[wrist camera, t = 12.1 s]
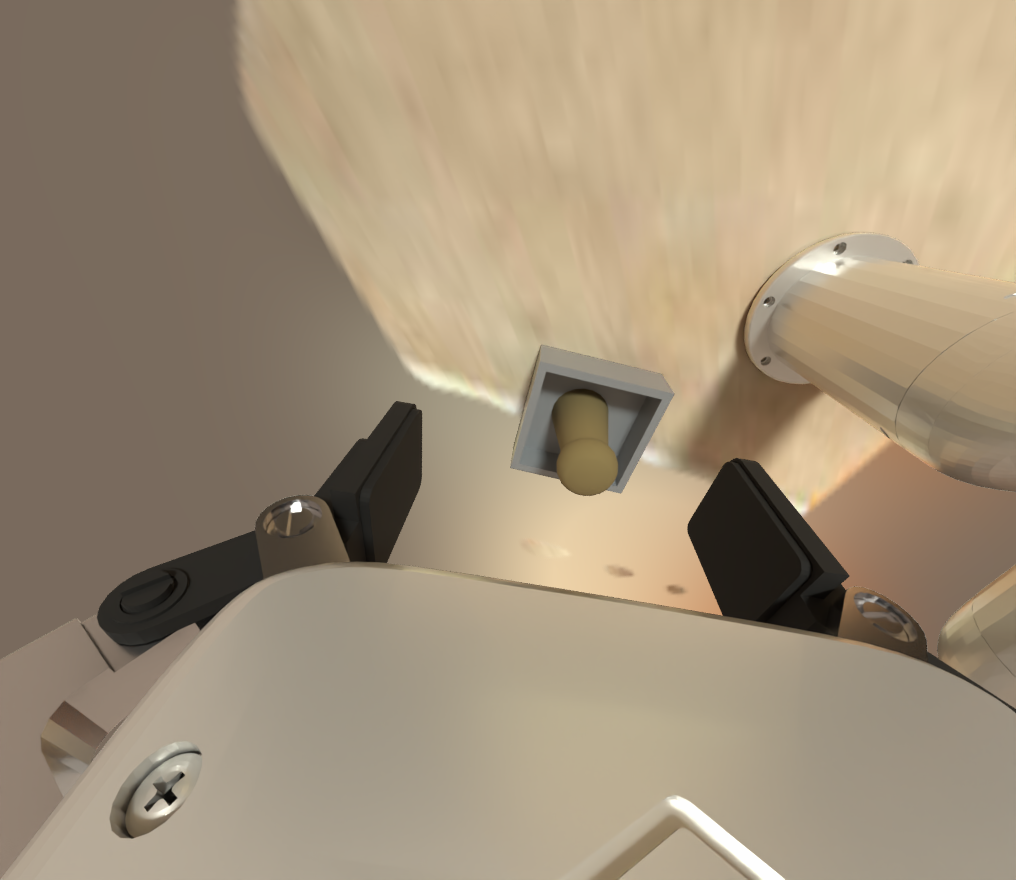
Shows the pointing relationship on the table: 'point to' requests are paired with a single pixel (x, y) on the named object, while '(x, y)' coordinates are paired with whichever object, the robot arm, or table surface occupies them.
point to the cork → (584, 442)
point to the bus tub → (624, 388)
